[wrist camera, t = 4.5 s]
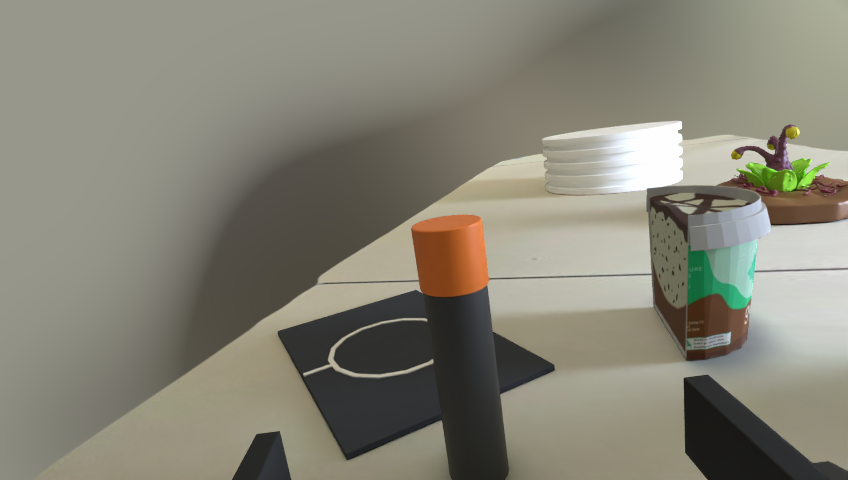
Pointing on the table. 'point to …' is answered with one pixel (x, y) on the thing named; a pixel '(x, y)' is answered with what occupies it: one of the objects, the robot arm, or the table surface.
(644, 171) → the plate stack
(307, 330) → the desk mat
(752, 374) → the table surface
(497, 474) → the marker
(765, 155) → the plant
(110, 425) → the table surface
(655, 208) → the food container
